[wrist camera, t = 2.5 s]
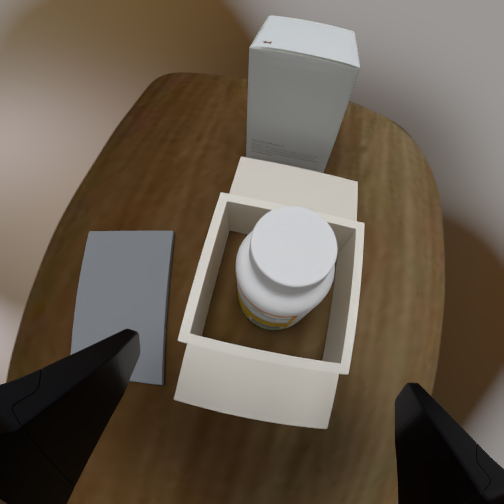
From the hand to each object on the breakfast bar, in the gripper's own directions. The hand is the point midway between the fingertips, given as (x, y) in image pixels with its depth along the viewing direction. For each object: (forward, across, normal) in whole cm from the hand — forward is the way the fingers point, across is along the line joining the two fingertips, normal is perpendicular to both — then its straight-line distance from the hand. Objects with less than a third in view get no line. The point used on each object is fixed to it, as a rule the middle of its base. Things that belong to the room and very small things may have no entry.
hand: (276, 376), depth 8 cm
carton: (+13, 0, +5) cm, 14 cm away
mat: (+10, +12, +7) cm, 17 cm away
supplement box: (+24, +1, -6) cm, 24 cm away
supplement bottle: (+13, 0, +5) cm, 14 cm away
